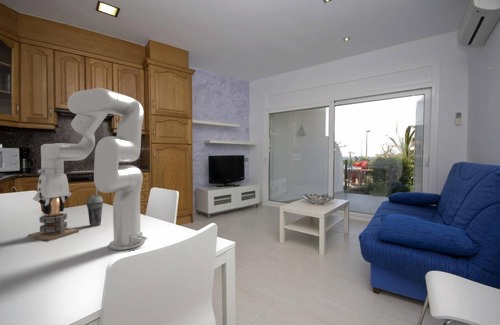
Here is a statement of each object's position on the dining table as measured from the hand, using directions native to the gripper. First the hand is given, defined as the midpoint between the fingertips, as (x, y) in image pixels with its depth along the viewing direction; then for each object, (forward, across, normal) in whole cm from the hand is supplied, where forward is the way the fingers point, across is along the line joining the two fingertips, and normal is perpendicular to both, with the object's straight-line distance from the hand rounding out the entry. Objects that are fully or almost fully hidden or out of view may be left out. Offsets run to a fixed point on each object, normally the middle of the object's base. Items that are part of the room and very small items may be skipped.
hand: (53, 212), depth 102 cm
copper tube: (+8, 0, 0) cm, 8 cm away
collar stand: (+10, 0, 0) cm, 10 cm away
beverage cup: (+10, +16, -4) cm, 19 cm away
